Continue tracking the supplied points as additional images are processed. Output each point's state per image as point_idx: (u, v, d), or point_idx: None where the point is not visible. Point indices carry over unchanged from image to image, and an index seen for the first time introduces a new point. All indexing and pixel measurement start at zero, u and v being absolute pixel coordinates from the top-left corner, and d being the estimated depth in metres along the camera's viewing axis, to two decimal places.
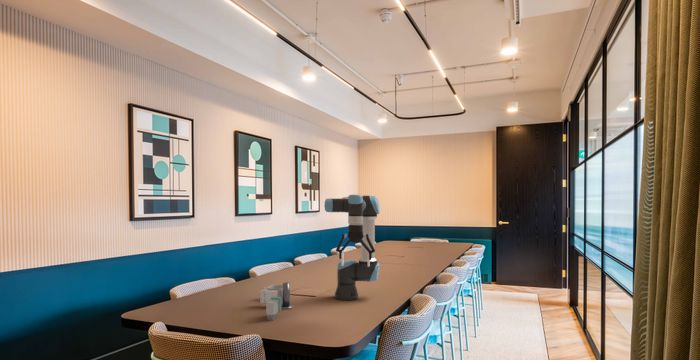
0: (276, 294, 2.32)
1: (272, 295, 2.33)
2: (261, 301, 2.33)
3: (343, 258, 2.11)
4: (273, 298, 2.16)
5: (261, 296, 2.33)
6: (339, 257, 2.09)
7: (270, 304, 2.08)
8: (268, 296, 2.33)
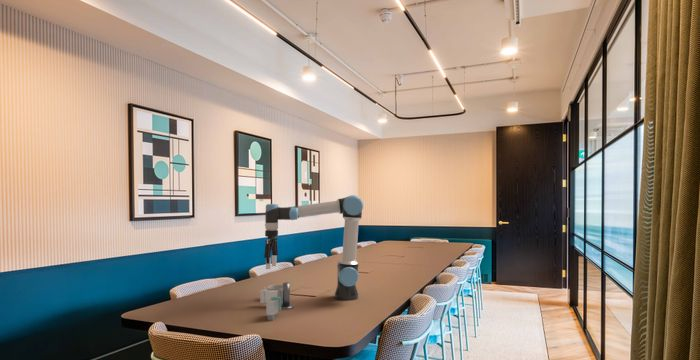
0: (276, 294, 2.32)
1: (272, 295, 2.33)
2: (261, 301, 2.33)
3: (275, 260, 2.46)
4: (273, 298, 2.16)
5: (261, 296, 2.33)
6: None
7: (270, 304, 2.08)
8: (268, 296, 2.33)
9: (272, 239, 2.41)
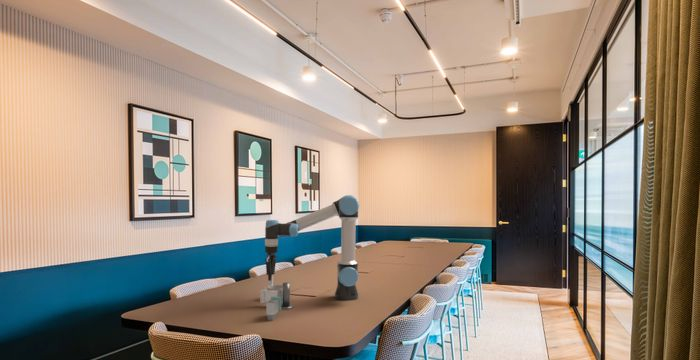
0: (276, 294, 2.32)
1: (272, 295, 2.33)
2: (261, 301, 2.33)
3: None
4: (273, 298, 2.16)
5: (261, 296, 2.33)
6: None
7: (270, 304, 2.08)
8: (268, 296, 2.33)
9: (271, 255, 2.41)
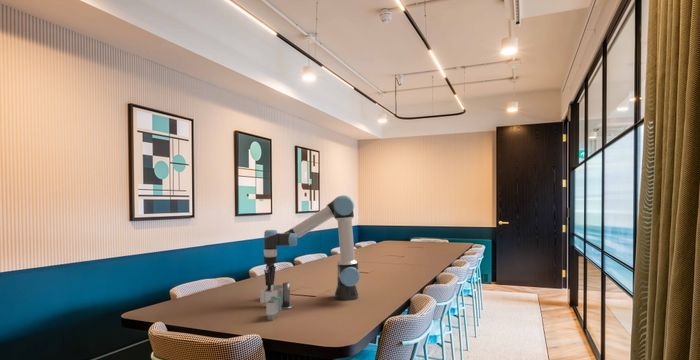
0: (276, 294, 2.32)
1: (272, 295, 2.33)
2: (261, 301, 2.33)
3: None
4: (273, 298, 2.16)
5: (261, 296, 2.33)
6: None
7: (270, 304, 2.08)
8: (268, 296, 2.33)
9: (270, 266, 2.38)
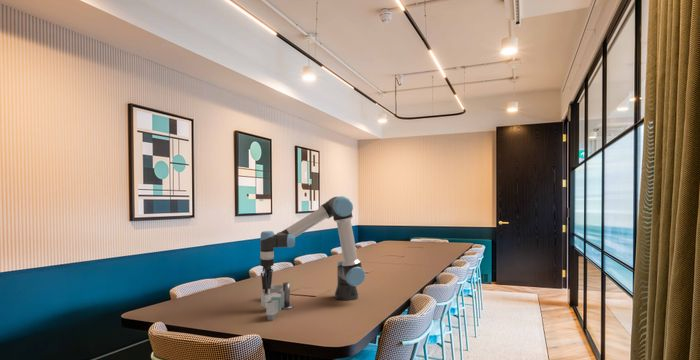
0: (280, 296, 2.29)
1: None
2: None
3: None
4: (273, 298, 2.16)
5: (266, 301, 2.23)
6: None
7: (270, 304, 2.08)
8: None
9: (267, 269, 2.28)
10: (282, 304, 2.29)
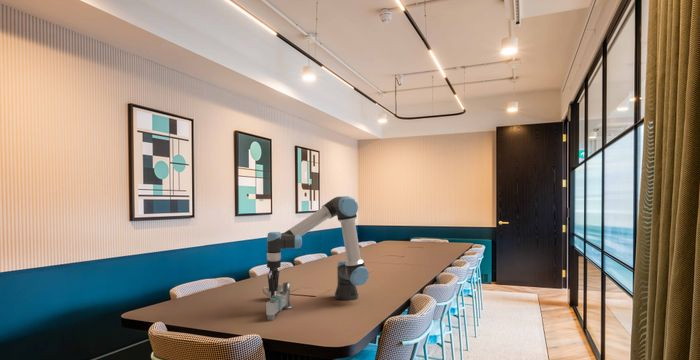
0: (286, 296, 2.28)
1: (284, 298, 2.26)
2: (281, 308, 2.19)
3: None
4: (273, 298, 2.16)
5: (281, 302, 2.19)
6: None
7: (270, 304, 2.08)
8: (283, 300, 2.23)
9: (274, 271, 2.23)
10: (287, 304, 2.29)
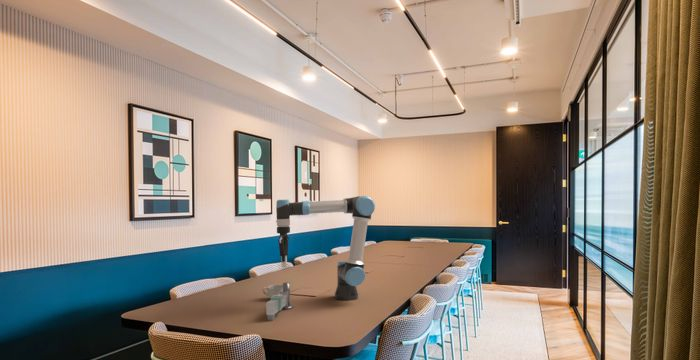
0: (286, 296, 2.28)
1: (284, 298, 2.26)
2: (281, 308, 2.19)
3: None
4: (273, 298, 2.16)
5: (281, 302, 2.19)
6: None
7: (270, 304, 2.08)
8: (283, 300, 2.23)
9: (284, 236, 2.33)
10: (287, 304, 2.29)
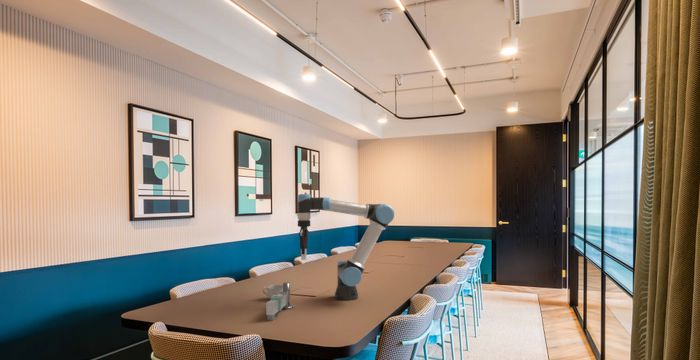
0: (286, 296, 2.28)
1: (284, 298, 2.26)
2: (281, 308, 2.19)
3: None
4: (273, 298, 2.16)
5: (281, 302, 2.19)
6: None
7: (270, 304, 2.08)
8: (283, 300, 2.23)
9: (304, 229, 2.40)
10: (287, 304, 2.29)
